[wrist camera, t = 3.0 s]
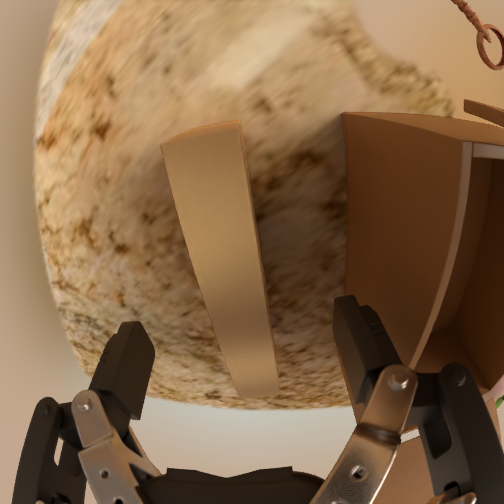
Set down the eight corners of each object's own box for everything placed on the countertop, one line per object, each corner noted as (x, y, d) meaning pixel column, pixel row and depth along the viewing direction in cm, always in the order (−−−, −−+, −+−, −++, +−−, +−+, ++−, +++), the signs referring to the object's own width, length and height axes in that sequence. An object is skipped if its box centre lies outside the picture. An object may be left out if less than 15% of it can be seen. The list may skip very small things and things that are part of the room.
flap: (494, 397, 12) (492, 397, 12) (365, 454, 13) (364, 454, 13) (503, 484, 6) (501, 484, 7) (373, 552, 7) (372, 551, 7)
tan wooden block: (189, 129, 12) (159, 144, 7) (240, 119, 12) (238, 127, 7) (239, 338, 19) (239, 399, 15) (273, 334, 19) (280, 395, 14)
